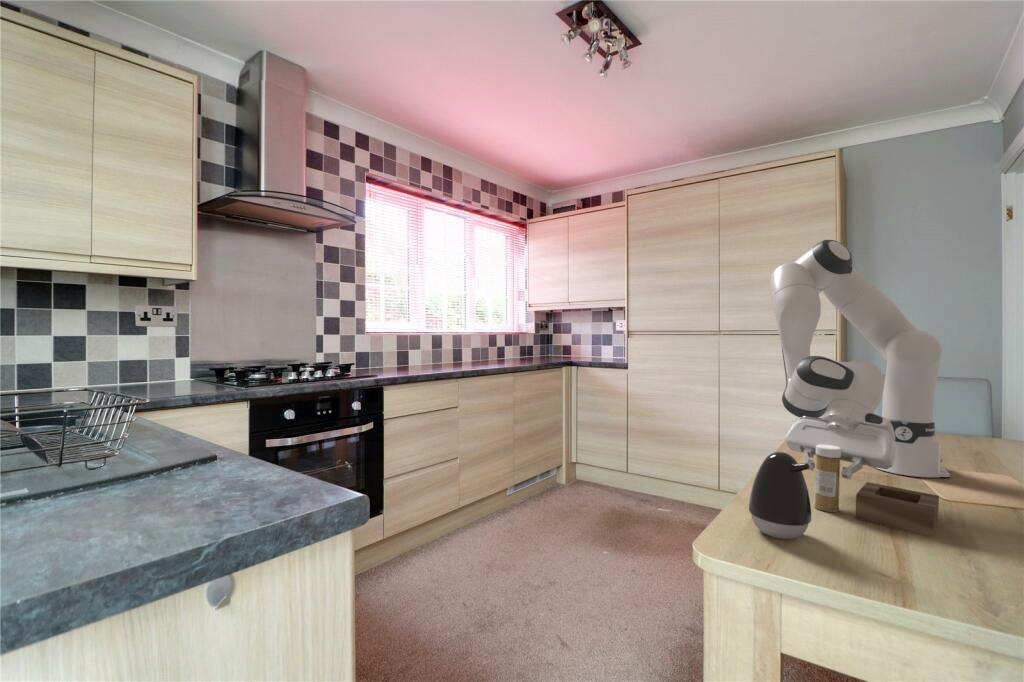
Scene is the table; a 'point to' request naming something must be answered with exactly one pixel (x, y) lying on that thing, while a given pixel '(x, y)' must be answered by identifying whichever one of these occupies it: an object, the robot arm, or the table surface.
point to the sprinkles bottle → (827, 478)
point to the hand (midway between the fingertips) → (826, 472)
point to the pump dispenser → (780, 497)
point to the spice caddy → (898, 508)
